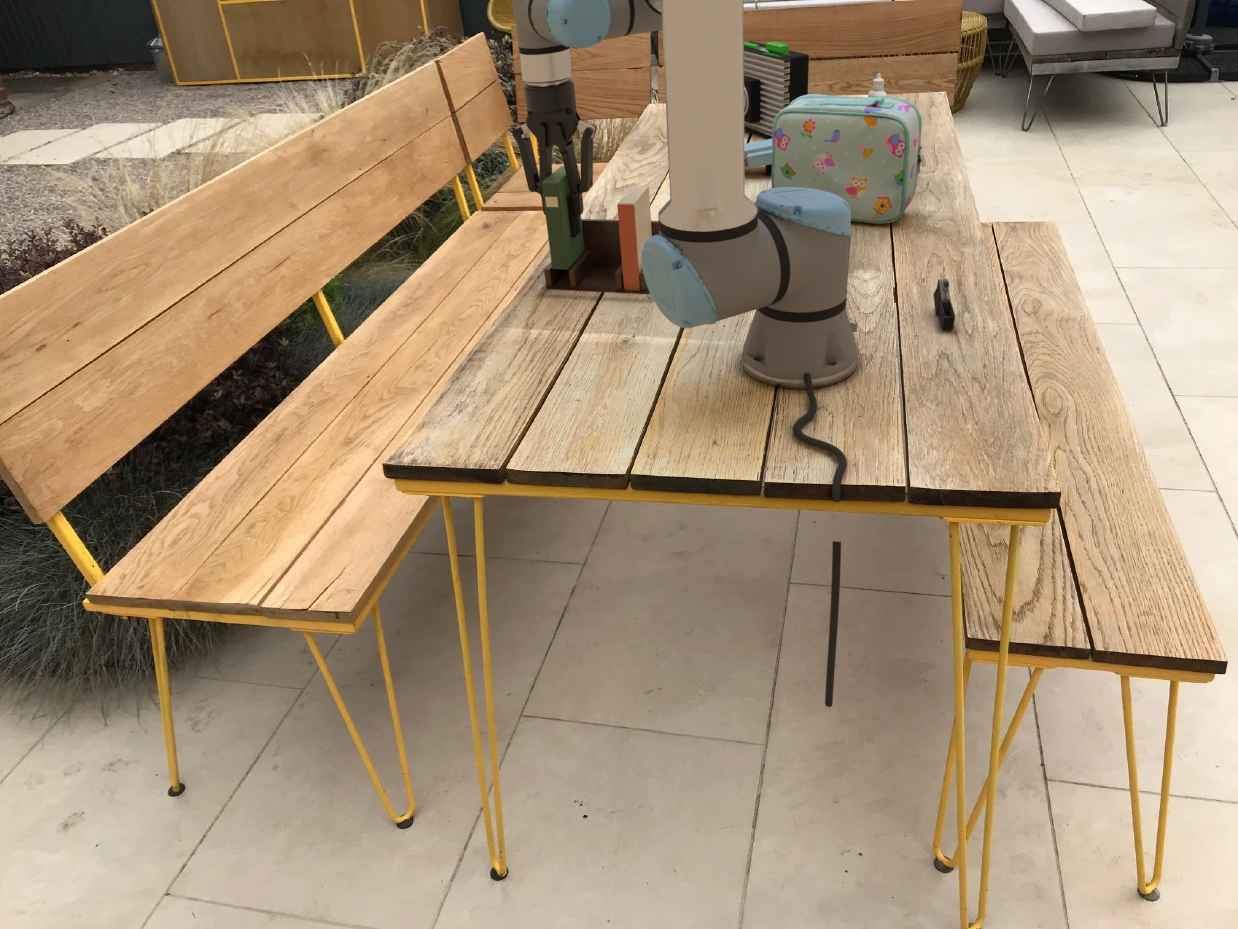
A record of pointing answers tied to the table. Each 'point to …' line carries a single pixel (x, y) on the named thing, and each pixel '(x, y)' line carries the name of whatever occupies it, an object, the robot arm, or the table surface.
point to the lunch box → (851, 151)
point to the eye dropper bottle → (877, 87)
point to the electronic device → (771, 83)
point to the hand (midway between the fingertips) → (566, 233)
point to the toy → (758, 155)
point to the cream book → (634, 233)
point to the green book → (560, 221)
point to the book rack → (596, 262)
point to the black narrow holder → (944, 305)
